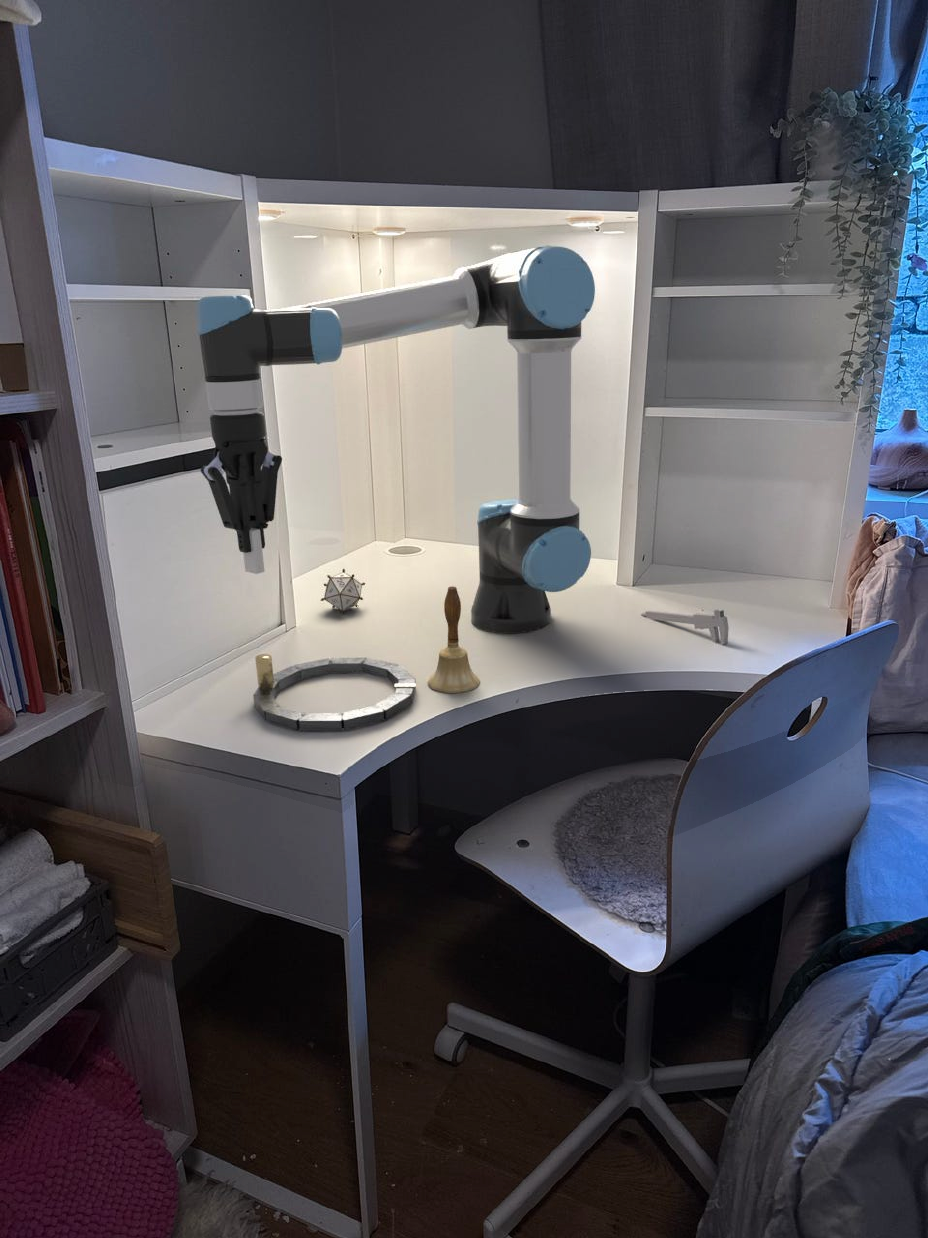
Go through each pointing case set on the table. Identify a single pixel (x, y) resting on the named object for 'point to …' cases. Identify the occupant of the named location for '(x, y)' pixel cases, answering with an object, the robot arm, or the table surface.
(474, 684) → the hand bell
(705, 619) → the caliper
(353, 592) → the game die
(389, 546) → the table surface
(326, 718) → the ring
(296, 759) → the table surface
